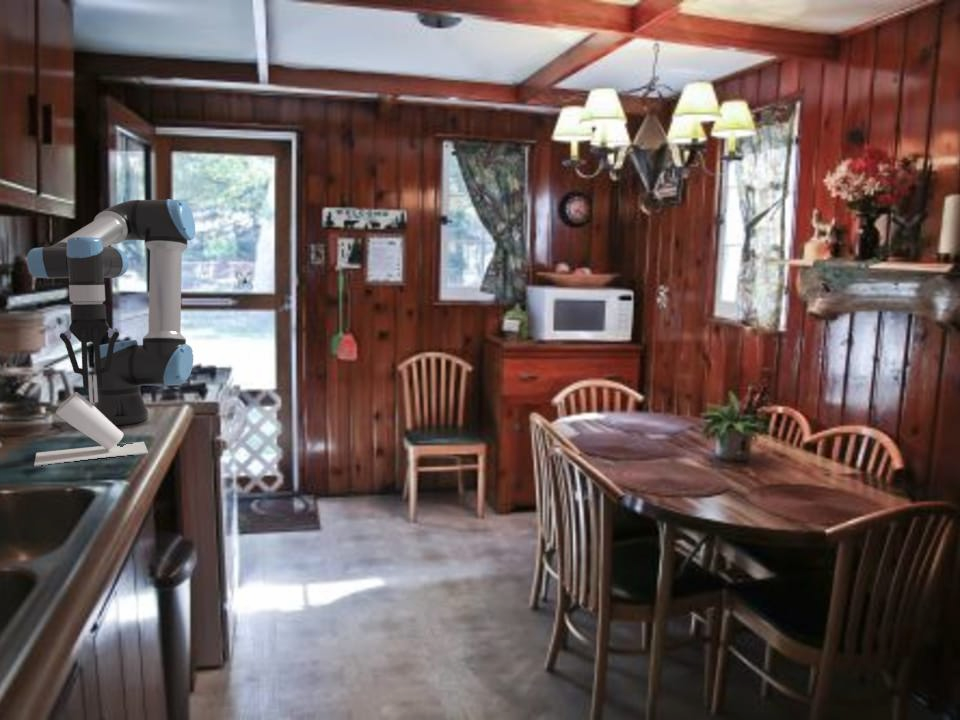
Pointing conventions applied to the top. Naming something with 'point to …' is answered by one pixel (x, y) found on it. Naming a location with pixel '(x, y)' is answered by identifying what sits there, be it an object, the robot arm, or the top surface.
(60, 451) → the rubber mat
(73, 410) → the white cup
